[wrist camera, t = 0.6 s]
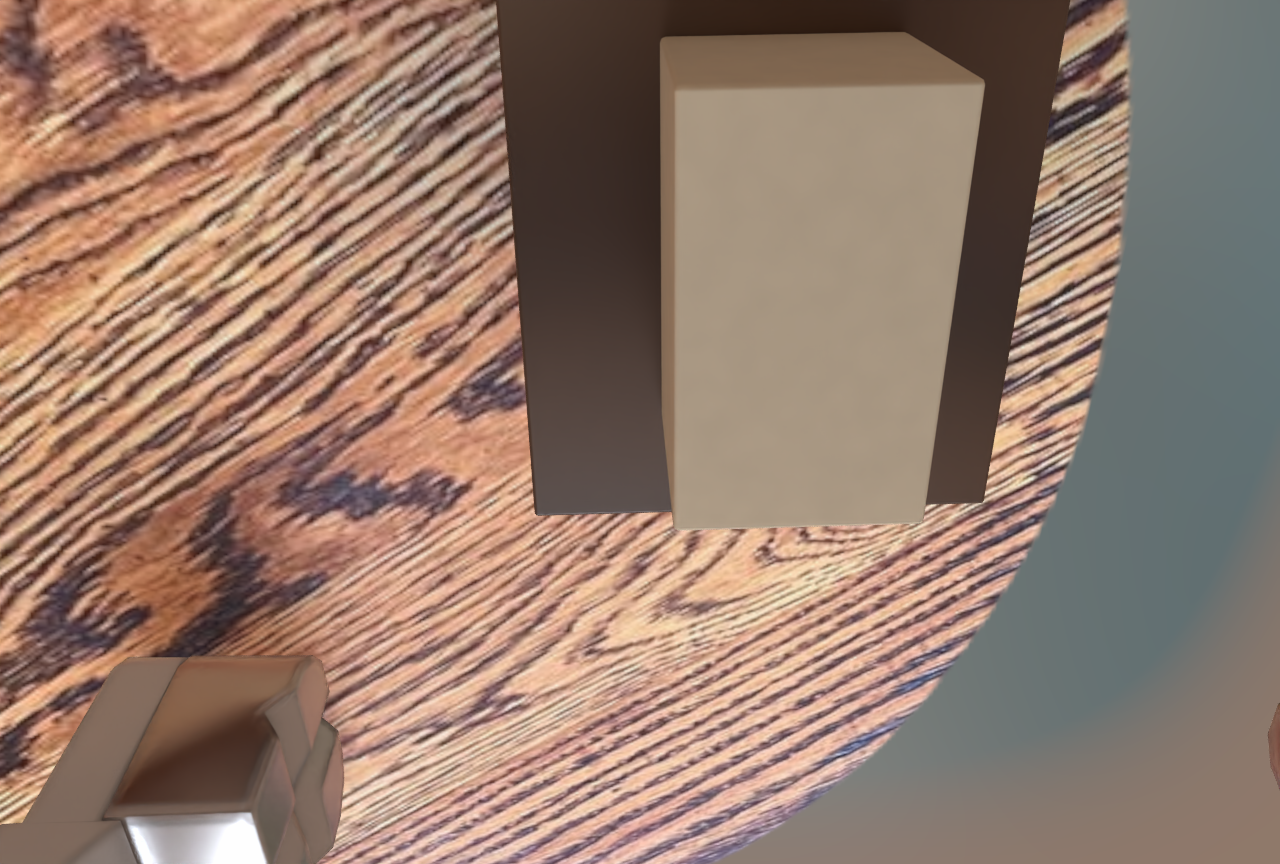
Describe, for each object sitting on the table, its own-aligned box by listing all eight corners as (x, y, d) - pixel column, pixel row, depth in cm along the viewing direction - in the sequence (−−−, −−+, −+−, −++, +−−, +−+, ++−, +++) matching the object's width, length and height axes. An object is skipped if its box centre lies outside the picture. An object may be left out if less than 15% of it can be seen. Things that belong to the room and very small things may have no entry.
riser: (542, -137, 26) (486, -124, 14) (864, -143, 26) (1095, -135, 14) (562, 251, 31) (534, 516, 18) (833, 244, 31) (984, 503, 19)
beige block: (660, 35, 15) (674, 85, 12) (908, 30, 15) (988, 79, 12) (661, 413, 18) (673, 533, 15) (869, 408, 18) (924, 526, 15)
